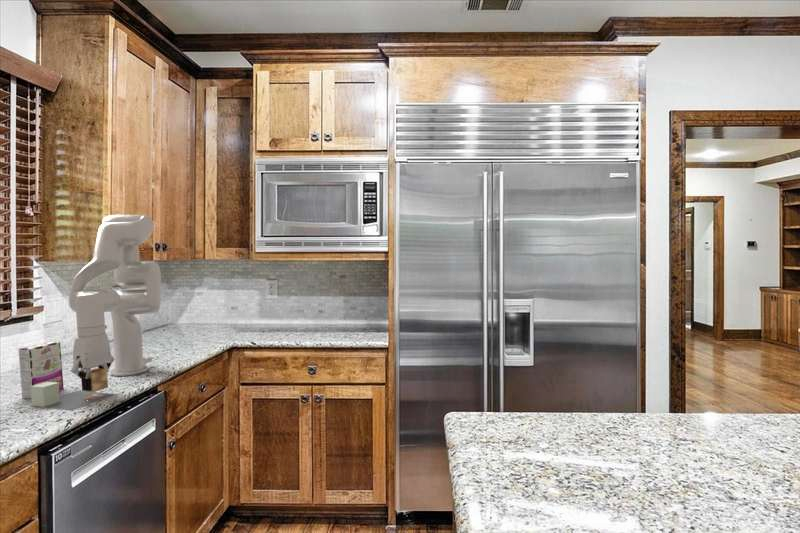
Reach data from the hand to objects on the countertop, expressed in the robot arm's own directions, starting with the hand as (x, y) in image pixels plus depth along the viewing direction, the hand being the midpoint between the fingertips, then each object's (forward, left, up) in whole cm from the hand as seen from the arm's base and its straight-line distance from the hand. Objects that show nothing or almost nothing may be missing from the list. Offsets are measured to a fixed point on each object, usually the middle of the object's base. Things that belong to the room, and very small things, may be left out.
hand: (95, 386), depth 157 cm
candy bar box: (+2, -21, -4) cm, 21 cm away
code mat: (+5, -3, -3) cm, 6 cm away
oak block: (0, 0, -1) cm, 1 cm away
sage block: (+10, -9, -3) cm, 13 cm away
